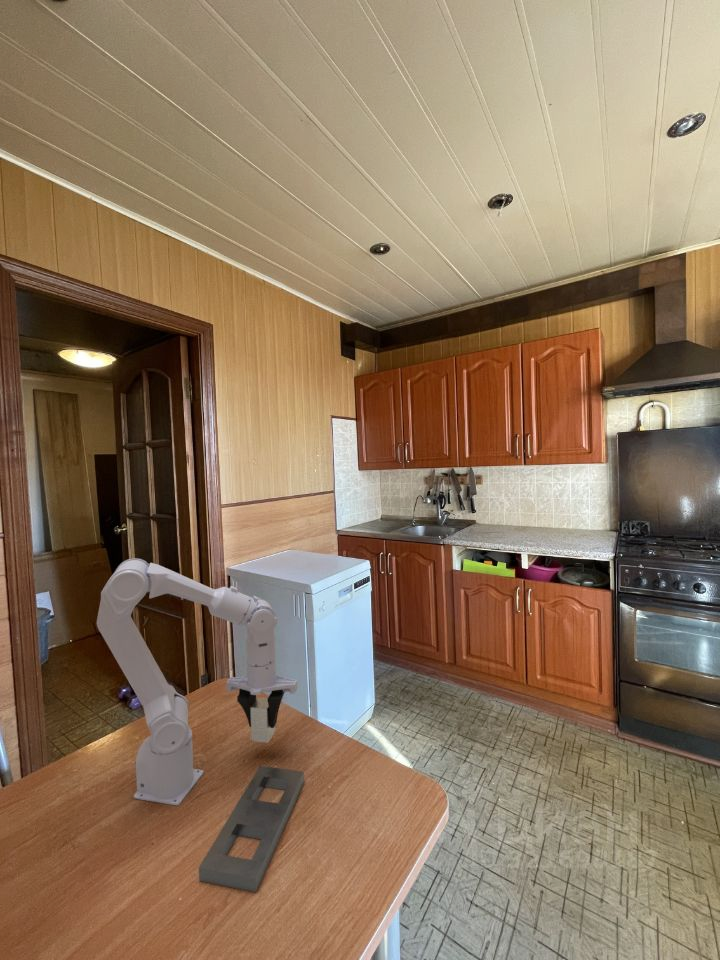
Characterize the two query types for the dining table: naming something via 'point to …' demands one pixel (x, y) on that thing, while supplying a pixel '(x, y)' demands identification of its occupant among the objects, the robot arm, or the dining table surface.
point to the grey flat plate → (252, 830)
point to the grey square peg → (261, 721)
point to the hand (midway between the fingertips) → (263, 724)
